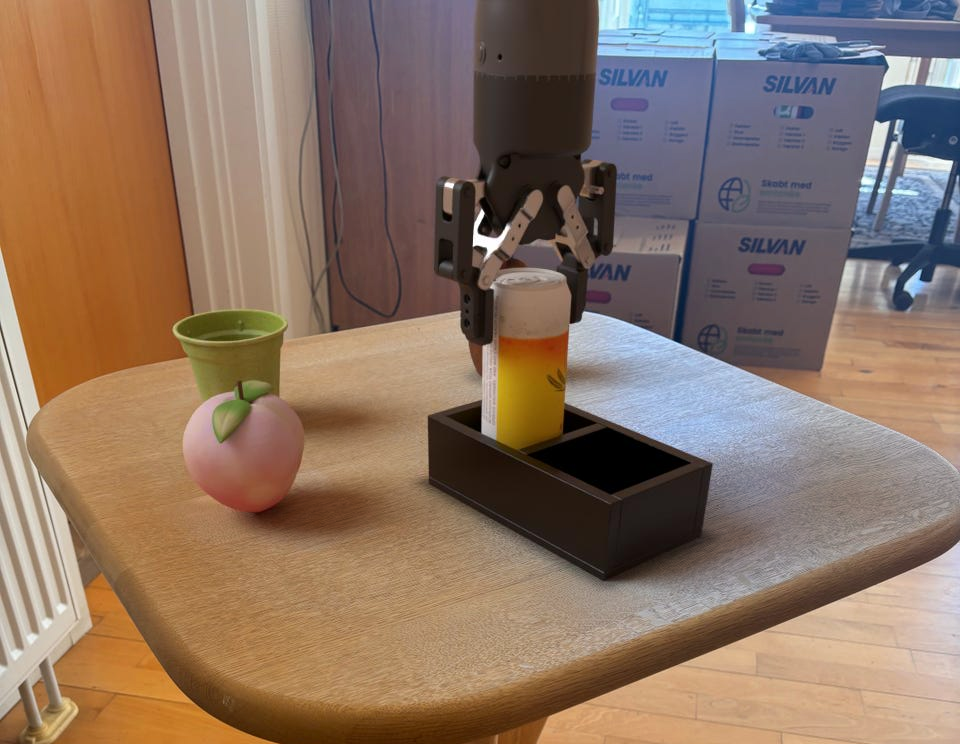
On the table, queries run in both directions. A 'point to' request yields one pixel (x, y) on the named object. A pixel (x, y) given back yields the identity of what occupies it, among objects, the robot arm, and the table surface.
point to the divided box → (575, 487)
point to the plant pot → (232, 348)
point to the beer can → (526, 357)
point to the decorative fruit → (244, 447)
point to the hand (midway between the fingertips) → (524, 331)
